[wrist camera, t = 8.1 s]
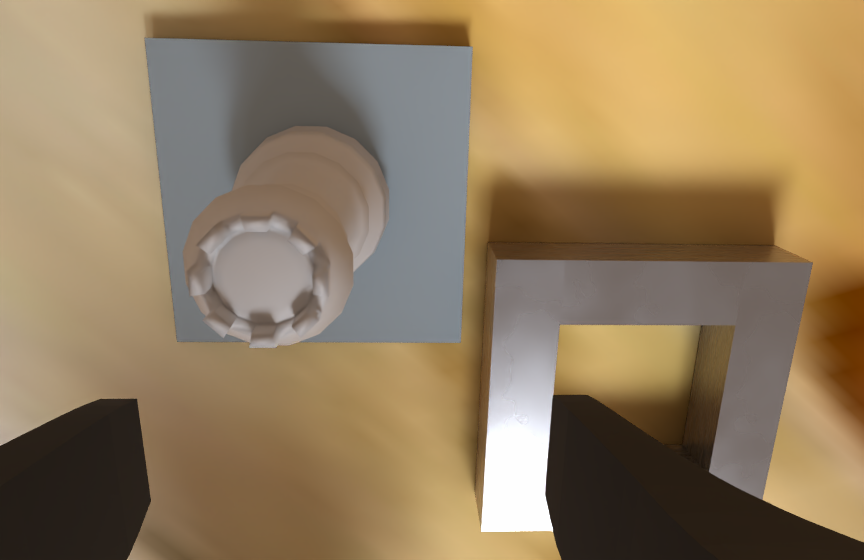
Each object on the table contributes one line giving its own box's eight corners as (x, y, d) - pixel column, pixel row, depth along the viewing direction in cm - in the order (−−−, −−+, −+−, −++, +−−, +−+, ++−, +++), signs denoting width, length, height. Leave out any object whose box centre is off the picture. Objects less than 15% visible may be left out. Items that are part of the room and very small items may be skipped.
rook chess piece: (419, 221, 19) (431, 316, 12) (299, 298, 20) (235, 436, 12) (333, 92, 18) (285, 104, 10) (208, 178, 19) (75, 248, 11)
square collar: (727, 491, 24) (756, 527, 22) (475, 493, 23) (481, 531, 21) (775, 245, 21) (813, 262, 19) (487, 242, 20) (496, 259, 18)
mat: (459, 335, 21) (460, 342, 21) (183, 334, 21) (177, 341, 20) (470, 47, 18) (472, 46, 18) (152, 39, 18) (144, 38, 17)
